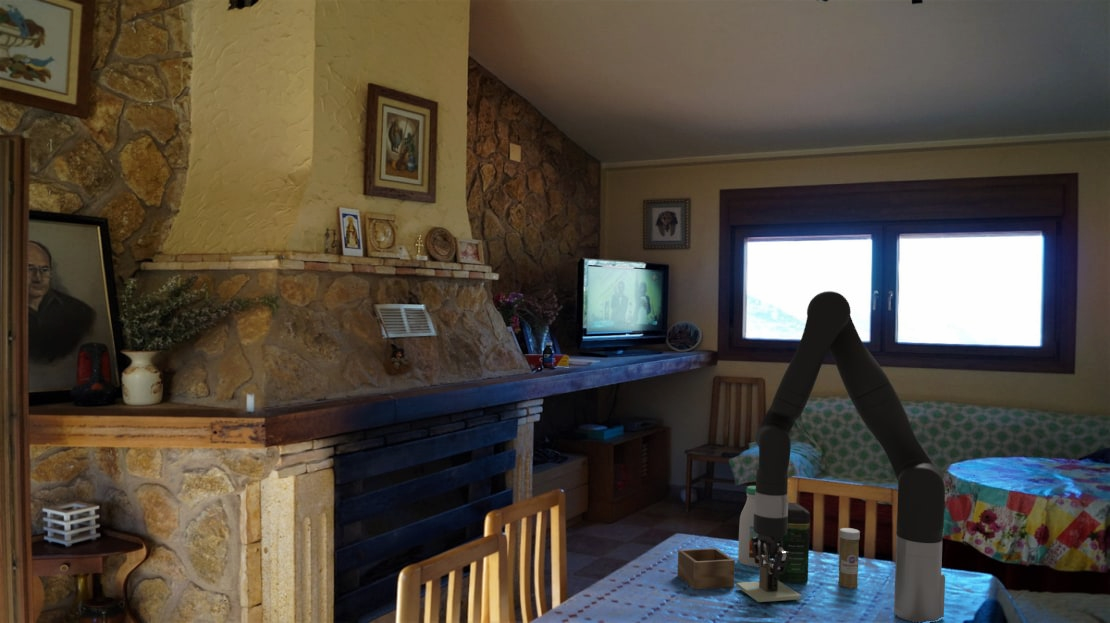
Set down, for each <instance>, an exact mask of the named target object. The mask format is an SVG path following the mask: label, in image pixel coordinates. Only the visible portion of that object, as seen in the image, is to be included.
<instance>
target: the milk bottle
mask: <svg viewBox="0 0 1110 623" xmlns="http://www.w3.org/2000/svg"><path fill="white" fill-rule="evenodd" d="M755 493H756V485H749V486H746V502H745V504H744V507H743V509H742V511H741V513H740V516H739V526H738V528H739V529H738V551H737V552H738V553H737V554H738V556H737V558H738V559H737V560H738V563H740V564H742V565H745V566H750V567H758V564H756V563H755V560H754V553H753V547H752V541H751V538H752V537H758V534H757V533H755V532H754V530H753V523H754V499H755Z"/></svg>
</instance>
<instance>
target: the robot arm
mask: <svg viewBox="0 0 1110 623" xmlns="http://www.w3.org/2000/svg"><path fill="white" fill-rule="evenodd" d="M851 314H852V313H851V306H850V302H849V301H848V300H847V298H846V297H845V296H844V295H842V294H841V293H839V292H837V291H834V290H833V291H832V290H828V291H822V292H820V293H817V294H816V295H815V296H814V297H812V299H811V300H810V301H809V303H808V306H807V309H806V321H805V324H804V329H803V332H802V335H801V339H800V340H799V344H798V347H797V349H796V351H795V353H794V355H793V357H792V359H791V360H790V363H789V365H788V367H787V369H786V370H785V372H784V374H783V375H782V379H781V380H780V383H779V385H778V388H776V389H777V390H776V392H775V394H774V397H773V400H772V403H771V405H770V407H769V408H768V410H767V411H766V414H765V415H764V417H763V418H762V420H761V422H760V424H759V426H758V429H757V430H756V435H755V442H756V445H757V446H758V468H757V470H756V475H755V486H756V493H755V499H754V523H753V530H754V532H755V533H757V534H758V537H752V538H751V541H752V547H753V553H754V560H755V563H756V564H758V566H757V567H758V569H759V570H760V565H768V590H769V591H777V589H778V575H779V574H784V572H785V569H786V565H787V562H788V559H789V552H788V551H787V552H785V551H784V550H783V543H782V537H783V536H784V535H786V534H787V527H788V502H789V499H788V498H789V497H788V486H789V484H788V483H789V482H788V479H789V478H788V470H789V466H790V459H791V448H792V443H791V436H790V433H791V431H792V429H793V427H794V425H795V422H796V421H797V420H798V419H799V418H801V416H802V414H803V412H804V410H805V408H806V406H807V403H808V401H809V399H810V396H811V393H812V392H813V389H814V386H815V383H816V381H817V379H818V376H819V373H820V370H821V368H822V365H823V363H824V360H825V358H826V356H827V355H828V352H829V354H831V357H832V358H833V361H834V364H835V366H836V368H837V371H838V373H839V375H840V378H841V381H842V383H843V386H844V388H845V390H846V392H847V394H848V396H849V399H850V400H851V402H852V405H853V406H854V407H855V410H856V411H857V413H858V415H859V417H860V419H861V420H862V421H863V423H864V424H865V426H866V428H867V429H868V430H869V431H870V433H871V434H872V435H873V437H874V438H875V439H876V440H877V442H878V443H879V444H880V446H881V448H882V449H883V450H884V452H885V454H886V456H887V459H888V461H889V463H890V465H891V467H892V469H893V472H894V474H895V478H896V481H897V505H896V506H897V511H896V512H897V513H896V531H895V532H896V534H895V535H896V538H895V541H896V542H895V564H894V565H895V566H894V568H895V569H894V570H895V571H894V572H895V573H894V598H893V600H894V602H893V614H894V615H895V616H896V615H897V616H896V617H898V618H900V619H902V620H904V619H905V620H904V621H907V620H909V621H908V622H911V621H915V622H914V623H917V622H926V621H935V620H938V619H939V618H941V617H944V618H945V594H946V593H945V592H946V575H945V574H943V573H942V566H943V565H942V564H943V562H942V559H943V558H942V557H943V537H944V534H943V533H944V526H945V525H944V524H945V523H944V522H945V506H946V505H945V504H946V502H945V500H946V486H945V482H944V479H943V476H942V474H941V472H940V470H939V469H938V468H937V467H936V466H935V463H933V461H932V459H930V457H929V456H928V455H927V453H926V451H925V450H924V448H923V446H922V445H921V444H920V442H919V441H918V439H917V437H916V435H915V433H914V430H913V428H912V426H911V423H910V421H909V417H908V415H907V413H906V410H905V408H904V406H903V404H902V402H901V400H900V398H899V396H898V394H897V392H896V390H895V388H894V386H893V384H892V383H891V381H890V379H889V377H888V376H887V374H886V373H885V371H884V370H883V368H882V367H881V365H880V364H879V363H878V361H877V360H876V358H875V357H874V356H873V355H872V353H871V352H870V351H869V350H868V348H867V346H866V345H865V344H864V342H863V341H862V339H861V337H860V335H859V333H858V330H857V327H856V326H855V324H854V322H853V318H852V316H851ZM774 558H775V560H773V559H774ZM773 564H774V565H773ZM772 565H773V568H772Z"/></svg>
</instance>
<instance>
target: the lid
mask: <svg viewBox="0 0 1110 623" xmlns="http://www.w3.org/2000/svg"><path fill="white" fill-rule="evenodd" d="M772 568H773V564H772ZM735 584H736V587H737V588H738V589H739V590H741V591H742V592H743V593H745V594H746V595H748V596H749V597H751V598H752V599H753V600H755V601H756V602H758V603H764V602H766V603H767V602H779V601H792V600H793V601H795V600H802V599H803V597H802V595H801V594H800V593H798V592H797V591H795V590H793V589H792V588H791V587H789V586H787V585H786V584H784V583H783V582H780V581H778V589H777V591H769V590H768V565H760V569H759V581H745V582H744V581H743V582H735Z"/></svg>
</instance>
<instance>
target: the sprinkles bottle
mask: <svg viewBox="0 0 1110 623" xmlns="http://www.w3.org/2000/svg"><path fill="white" fill-rule="evenodd" d="M860 533H861V531H860V530H858V529H855V528H851V527H841V528H840V529H839V549H838V585H839V586H840V587H841V588H842V587H843V588H848V589H854V588H858V586H859V584H858V577H859V575H858V574H859V554H860V553H859V552H860V551H859V542H860V538H861V536H860Z"/></svg>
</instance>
